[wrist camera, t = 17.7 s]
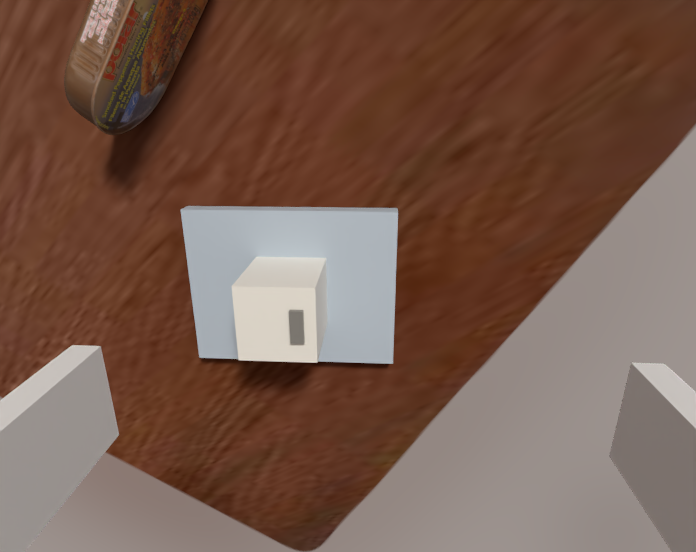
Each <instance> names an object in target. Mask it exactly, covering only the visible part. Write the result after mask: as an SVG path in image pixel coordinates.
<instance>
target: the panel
mask: <svg viewBox="0 0 696 552" xmlns="http://www.w3.org/2000/svg"><path fill="white" fill-rule="evenodd" d="M181 217H182V225H183V232H184V240H185V248H186V256H187V264H188V272H189V279H190V287H191V295H192V303H193V311H194V319H195V326H196V334H197V342H198V350H199V358H223V359H238V349H237V339H236V328H235V318H234V307H233V297H232V285H233V284H234V283H235V281H236V280H237V279H238V278H239V277H240V275H241V274H242V273H243V272H244V271H245V270H246V268H247V267H248V266H249V265H250V264H251V262H252V261H253V260H254V259H255V258H256V257H308V258H326V268H327V317H328V323H327V327H326V331H325V335H324V339H323V343H322V347H321V351H320V355H319V359H318V361H319V362H350V363H382V364H393V346H394V316H395V287H396V257H397V227H398V209H397V208H336V207H237V206H187V207H185V208H183V209H181Z"/></svg>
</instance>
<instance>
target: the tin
mask: <svg viewBox="0 0 696 552" xmlns="http://www.w3.org/2000/svg"><path fill="white" fill-rule="evenodd" d="M207 2H208V0H91V1H90V3H89V6H88V8H87V11H86V14H85V16H84V19H83V22H82V24H81V27H80V30H79V32H78V35H77V37H76V40H75V43H74V46H73V48H72V50H71V53H70V56H69V59H68V61H67V66H66V70H65V78H64V85H65V92H66V96H67V99H68V101H69V103H70V105H71V106H72V107H73V108H74V110H76V111H77V112H78V113H79V114H80V115H81V116H83V117H84V118H86V119H87V120H89V121H90V122H92V123H93V124H94V125H96V126H97V127H98V128H99V129H100V130H101V131H102V132H104V133H106V134H109V135H118V134H122V133H125V132H127V131H129V130H131V129H132V128H134V127H136V126H137V125H138V124H140V123H141V122H142V121H143V120H144V119H145V118H147V117H148V116H149V115H150V113H151V112H152V111H153V110H154V108H155V107H156V106H157V104H158V103H159V101H160V100H161V98H162V96H163V95H164V93H165V91H166V89H167V87H168V85H169V82H170V80H171V78H172V76H173V74H174V72H175V70H176V67H177V66H178V63H179V61H180V59H181V57H182V55H183V53H184V51H185V48H186V46H187V44H188V42H189V40H190V38H191V36H192V34H193V32H194V30H195V28H196V25H197V23H198V21H199V19H200V17H201V15H202V13H203V11H204V9H205V6H206V4H207Z"/></svg>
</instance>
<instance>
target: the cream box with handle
mask: <svg viewBox="0 0 696 552" xmlns="http://www.w3.org/2000/svg"><path fill="white" fill-rule="evenodd" d="M232 297H233V307H234V318H235V328H236V339H237V349H238V360H244V361H275V362H307V363H318V359H319V355H320V351H321V347H322V343H323V339H324V335H325V331H326V327H327V323H328V317H327V268H326V258H308V257H256V258H255V259H254V260H253V261H252V262H251V264H250V265H249V266H248V267H247V268H246V270H245V271H244V272H243V273H242V274H241V275H240V277H239V278H238V279H237V280H236V281H235V283H234V284H233V285H232Z"/></svg>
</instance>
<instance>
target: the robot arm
mask: <svg viewBox="0 0 696 552" xmlns="http://www.w3.org/2000/svg"><path fill="white" fill-rule="evenodd" d="M118 435H119V432H118V427H117V423H116V418H115V413H114V408H113V403H112V398H111V394H110V389H109V384H108V379H107V374H106V369H105V365H104V360H103V355H102V350H101V346H79V345H72V346H70V347H69V348H68V349H67V350H65V351H64V352H63V353H61V354H60V355H59V356H57V357H56V358H55V359H54V360H52V361H51V362H50V363H48V364H47V365H46V366H44V367H43V368H42V369H41V370H39V371H38V372H37V373H35V374H34V375H33V376H31V377H30V378H29V379H28V380H26V381H25V382H24V383H22V384H21V385H20V386H18V387H17V388H16V389H15V390H13V391H12V392H11V393H9V394H8V395H7V396H5V397H4V398H3V399H2V400H0V552H25V551H26V550H27V549H28V548H29V546H30V545H31V544H32V543H33V541H34V540H35V539H36V538H37V536H38V535H39V534H40V533H41V531H42V530H43V529H44V528H45V526H46V525H47V524H48V522H49V521H50V520H51V519H52V518H53V516H54V515H55V514H56V513H57V511H58V510H59V509H60V508H61V506H62V505H63V504H64V503H65V501H66V500H67V499H68V498H69V496H70V495H71V494H72V493H73V491H74V490H75V489H76V488H77V487H78V485H79V484H80V483H81V482H82V480H83V479H84V478H85V476H86V475H87V474H88V473H89V472H90V470H91V469H92V468H93V467H94V465H95V464H96V463H97V462H98V460H99V459H100V458H101V457H102V455H103V454H104V453H105V452H106V450H107V449H108V448H109V447H110V445H111V444H112V443H113V442H114V440H115V439H116V438H117V437H118ZM610 458H611V460H612V461H613V463H614V464H615V465H616V467H617V469H618V470H619V471H620V473H621V475H622V476H623V478H624V479H625V481H626V482H627V484H628V485H629V487H630V488H631V490H632V492H633V493H634V495H635V496H636V498H637V499H638V501H639V502H640V504H641V505H642V507H643V508H644V510H645V512H646V513H647V515H648V516H649V518H650V519H651V521H652V522H653V524H654V525H655V527H656V528H657V530H658V531H659V533H660V535H661V536H662V538H663V539H664V541H665V542H666V544H667V545H668V547H669V548H670V550H671V551H672V552H696V392H695V391H694V390H693V389H692V388H691V387H690V386H689V385H688V384H686V383H685V382H684V381H683V380H682V379H681V378H680V377H679V376H677V375H676V374H675V373H674V372H673V371H672V370H671V369H670V368H669V367H668V366H667V365H665V364H654V363H631V366H630V370H629V374H628V379H627V383H626V387H625V392H624V396H623V400H622V404H621V409H620V413H619V417H618V422H617V426H616V430H615V435H614V439H613V443H612V447H611V452H610Z"/></svg>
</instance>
